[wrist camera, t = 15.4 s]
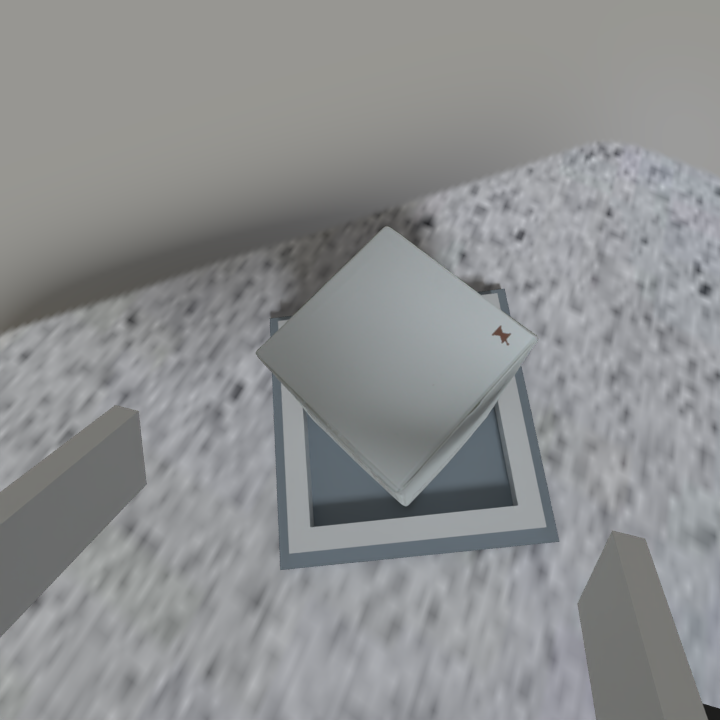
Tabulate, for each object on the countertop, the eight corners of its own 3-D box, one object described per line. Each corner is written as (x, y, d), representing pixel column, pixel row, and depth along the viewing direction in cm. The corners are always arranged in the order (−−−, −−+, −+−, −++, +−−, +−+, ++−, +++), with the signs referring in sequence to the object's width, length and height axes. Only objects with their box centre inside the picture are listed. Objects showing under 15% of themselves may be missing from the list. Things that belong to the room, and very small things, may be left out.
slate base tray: (502, 292, 32) (508, 279, 30) (556, 541, 27) (566, 542, 25) (272, 322, 33) (264, 310, 31) (283, 569, 28) (274, 571, 26)
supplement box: (396, 336, 31) (390, 215, 19) (490, 417, 29) (549, 337, 17) (311, 422, 30) (247, 349, 18) (403, 513, 28) (400, 499, 16)
